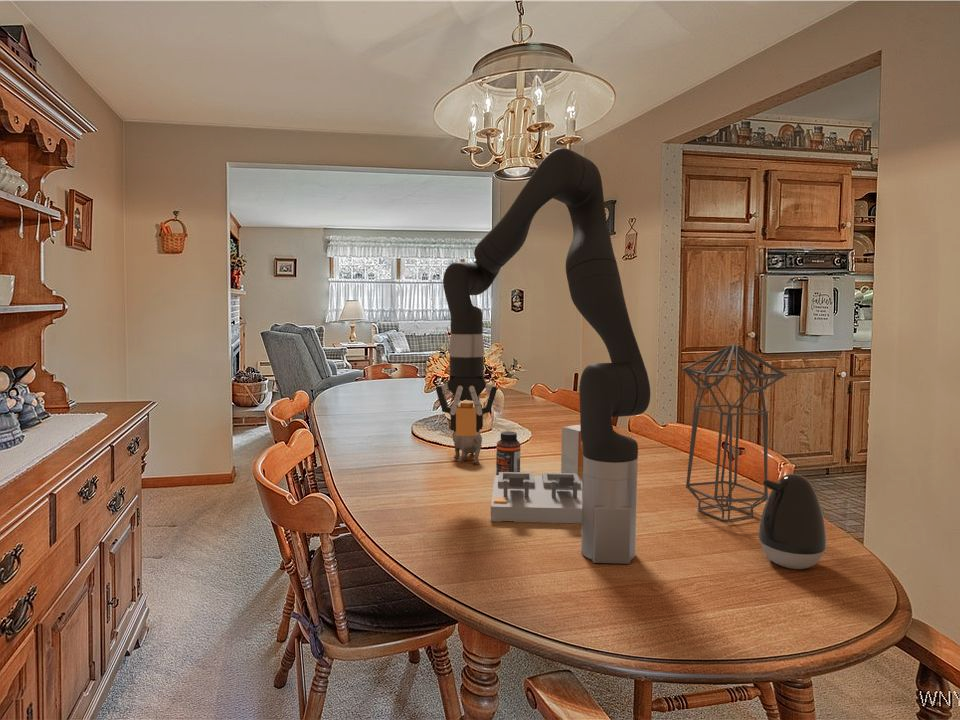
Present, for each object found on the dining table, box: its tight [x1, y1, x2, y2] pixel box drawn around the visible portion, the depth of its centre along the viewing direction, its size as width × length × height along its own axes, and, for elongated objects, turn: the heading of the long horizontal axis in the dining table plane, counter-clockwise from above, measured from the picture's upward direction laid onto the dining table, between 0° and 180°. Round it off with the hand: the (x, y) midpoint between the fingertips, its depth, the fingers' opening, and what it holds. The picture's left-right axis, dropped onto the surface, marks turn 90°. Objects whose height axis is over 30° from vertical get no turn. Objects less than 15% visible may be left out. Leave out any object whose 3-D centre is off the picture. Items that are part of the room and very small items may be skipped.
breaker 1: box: [509, 478, 523, 486], centre depth 134 cm, size 11×3×2 cm, turn 177°
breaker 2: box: [556, 477, 574, 489], centre depth 133 cm, size 11×3×2 cm, turn 177°
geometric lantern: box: [681, 344, 788, 522], centre depth 132 cm, size 16×16×35 cm
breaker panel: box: [490, 471, 582, 524], centre depth 138 cm, size 23×20×6 cm
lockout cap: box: [456, 401, 477, 436], centre depth 142 cm, size 4×4×7 cm
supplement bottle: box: [495, 430, 521, 475], centre depth 159 cm, size 6×6×11 cm
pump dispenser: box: [758, 473, 827, 570], centre depth 107 cm, size 10×10×15 cm
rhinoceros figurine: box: [452, 431, 483, 466], centre depth 178 cm, size 8×14×15 cm
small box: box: [560, 424, 583, 481], centre depth 158 cm, size 8×6×13 cm
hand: (466, 431), depth 142 cm, fingers closed on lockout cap, 4 cm apart
